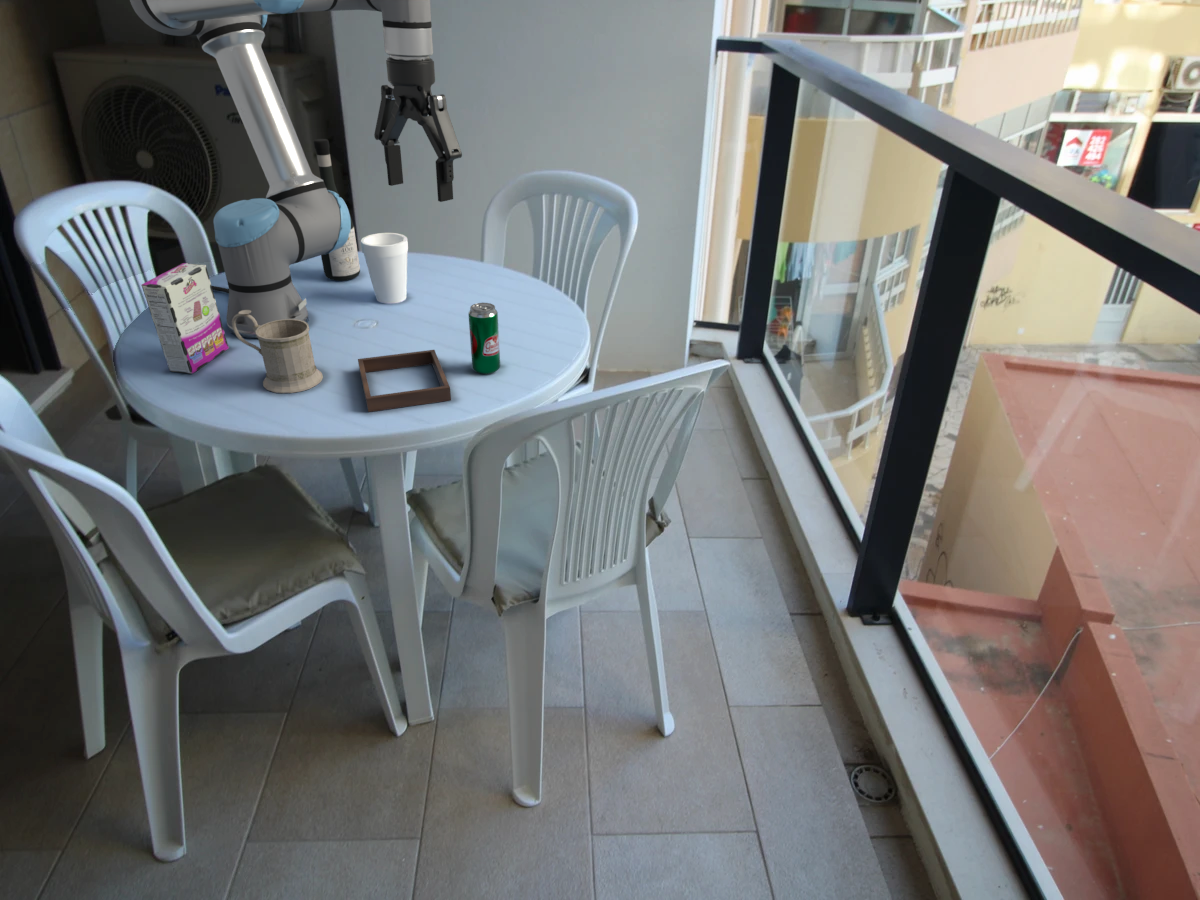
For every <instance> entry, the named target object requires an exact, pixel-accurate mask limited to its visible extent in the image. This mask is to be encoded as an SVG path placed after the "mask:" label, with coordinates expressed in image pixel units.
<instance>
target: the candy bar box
mask: <svg viewBox="0 0 1200 900" xmlns="http://www.w3.org/2000/svg"><path fill="white" fill-rule="evenodd" d="M140 285H141V289H142V291H143V295H144V298H145V301H146V303H147V305H148V306H147V307H148V310H149V312H150V315H151V318H152V321H153V324H154V327H155V330H156V334H157V336H158V340H159V343H160V346H161V349H162V352H163V355H164V358H165V361H166V364H167V368H168V370H169V372H173V373H179V374H181V373H182V374H192V375H193V374H194V373H196V372H197V371H199V370H200V369H201V368H204V366H206V365H207V364H209V363H211V361H213V360H214V359H216V358H218V357H219V356H220V355H221V354H223V353H224V352H226V351H227V350H229V348H230V346H229V344H228V340H227V337H226V333H225V329H224V326H223V321H222V318H221V314H220V311H219V308H218V304H217V301H216V297H215V293H214V290H213V289H212V286H213V285H212V283H211V278H210V274H209V272H208V268H207V265H206V264H199V263H198V264H197V263H189V262H183V263H180V264H178V265H176V266H175V267H173V268H171V269H169V270H167V271H165V272H162V273H161V274H159V275H157V276H155V277H153V278H152V279H149V280H147V281H146V282H143V283H142V284H140Z"/></svg>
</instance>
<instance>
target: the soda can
mask: <svg viewBox="0 0 1200 900" xmlns="http://www.w3.org/2000/svg"><path fill="white" fill-rule="evenodd" d="M498 313H499V312H498V311H497V309H496V306H495V305H494V304H493V303H491V302H477V303H474V304H472V305H470V307H469V311H468V327H469V328H468V329H469V341H470V357H471V367H472V370H473V371H474V372H475V373H477V374H480V375H491V374H494V373H496V372H498V371H499V369H500V368H501V352H500V333H499V332H500V331H499V314H498Z"/></svg>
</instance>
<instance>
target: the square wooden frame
mask: <svg viewBox="0 0 1200 900" xmlns="http://www.w3.org/2000/svg"><path fill="white" fill-rule="evenodd" d="M439 360H440V359H439V357H438V354H437V353H436V350H435V349H428V350H421V351H411V352H404V353H395V354H388V355H387V354H386V355H380V356H379V355H378V356H371V357H363V358H362V357H361V358H357V364H358V369H359V375H360V380H361V384H362V388H363V393H364V394H363V395H364V398H365V402H366V407H367V408H366V409H367V412H368V413H373V412H381V411H385V410H386V411H387V410H393V409H400V408H406V407H414V406H422V405H428V404H435V403H442V402H447V401H448V402H449V401H452V394H451V393H452V392H451V387H450V386H451V385H450V384H449V381H448V379H447V377H446V374H445V371H444V369H443V367H442V364H441V363H440V361H439ZM426 365H427V366H428V365H432V367H433V370H434V373H435V375H436V378H437V380H438V382H439V383H438V384H439V385H440V386H435V387H428V388H420V389H412V390H407V391H399V392H398V391H397V392H392V393H385V394H378V395H371V391H370V387H369V382H368V378H367V373H373V372H383V371H388V370H395V369H396V370H398V369H403V368H412V367H419V366H426Z"/></svg>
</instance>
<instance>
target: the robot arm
mask: <svg viewBox="0 0 1200 900" xmlns="http://www.w3.org/2000/svg"><path fill="white" fill-rule="evenodd" d="M129 3H130V5H131V7H132V9H133V11H134V12H135V14H136V15H137V16H138V18H139V19H141V21H143V22H144V24H146V25H147V26H149V27H150V28H152V29H153V30H156V31H157V32H159V33H162V34H166V35H170V36H176V37H185V36H186V37H188V36H189V37H190V36H196V38H197V39H198V42H199V45H200V46H201V49H202V51H203V52H204V53H207V54H208V55H209V56H212V57H213V58H214V59H215V60H216V63H217V65H218V68H219V70H220V72H221V74H222V77H223V79H224V82H225V85H226V86H227V88H228V91H229V93H230V96H231V98H232V100H233V103H234V105H235V108H236V110H237V112H238V115H239V117H240V119H241V122H242V125H243V126H244V129H245V131H246V133H247V136H248V138H249V141H250V142H251V145H252V148H253V150H254V152H255V155H256V157H257V160H258V162H259V165H260V166H261V169H262V171H263V173H264V176H265V179H266V181H267V183H268V186H269V188H268V191H267V193H266V195H265V198H264V197H257V198H256V197H254V198H250V199H241V200H237V201H234V202H231V203H229V204H226V205H225V206H223V207H221V208H220V209H219V210H217V212H216V213H215V215H214V217H213V228H214V229H213V230H214V239H215V241H216V244H217V247H218V251H219V254H220V258H221V262H222V266H223V270H224V275H225V279H226V283H227V287H228V288H227V287H222V286H216V285H215V286H214V285H211V286H212V289H213V291H215V292H222V293H226V294H228V300H227V308H226V309H227V310H226V324H227V329H228V331H229V332H230V333H231V334H232V335H235V336H236V334H235V332H234V330H233V327H232V319H233V317H234V316H235V315H237V314H239V313H238V312H240V311H243V310H250V311H251V313H249V315H251V316H252V317H254V318H255V320H256V321H257V324H258V325H263V324H266V323H268V322H272V321H276V320H283V319H295V320H301V321H304V322H306V323H307V324H309V321H310V316H309V311H308V308H307V304H308V303H307V302H308V301H307V298H304V299H302V297H301V296H300V294H299V292H298V290H297V288H296V287H295V285H294V283H293V279H292V278H293V277H292V274H291V268H290V266H291V265H294V264H299V263H301V262H305V261H307V260H310V259H314V258H316V257H319V256H320V257H321V255H326V254H328V253H331V252H332V251H334V250H336V249H339V248H341V247H342V246H343V245H344V244H345V243H346V242H347V240H348V238H349V233H350V230H351V220H350V216H351V214H350V210H349V208H348V206H347V204H346V202H345V200H344V199H343V198H342V197H341V196H340V194H339V193H338V194H339V195H338V194H337V193H336V192H333V191H330V190H327V188H326V186H325V183H324V181H323V180H322V179H321V177H319V176H317V175H315V174H314V173H313V171H312V169H311V167H310V164H309V162H308V159H307V157H306V155H305V151H304V149H303V147H302V145H301V142H300V140H299V137H298V135H297V132H296V129H295V127H294V125H293V122H292V120H291V116H290V114H289V112H288V109H287V107H286V104H285V102H284V100H283V98H282V95H281V92H280V90H279V87H278V85H277V82H276V81H275V78H274V75H273V73H272V71H271V68H270V66H269V63H268V61H267V58H266V56H265V53H264V50H263V48H262V44H263V42H264V39H265V37H266V34H265V31H264V28H265V26H266V24H267V22H268V15H277V14H278V15H284V14H295V13H309V12H333V11H335V12H336V11H370V12H371V11H372V12H379V13H381V17H382V19H381V20H382V31H383V45H384V46H383V47H384V53H385V54H386V55H388V57H387V58H386V60H385V63H386V74H387V81H388V83H389V84H383V85H381V86H380V92H381V93H380V96H381V99H380V104H379V108H378V114H377V119H376V124H375V128H374V129H375V130H374V134H373V136H374V139H375V140H376V141H380V144H381V145H382V146H383V153H384V161H385V164H386V172H387V173H386V174H387V182H388V186H389V187H392V186H396V185H403V184H404V174H403V173H404V172H403V161H402V151H401V145H399V144H400V143H401V141H399V139H400V137H401V134H402V132H403V130H404V128H405V126H406V124H407V122H408V120H409V119H410V120H411V121H415V122H416V123H417V124H418V125H419V126H421V127H422V129H423V130H424V133H425V135H426V137H427V139H428V140H429V143H430V145H431V147H432V149H433V150H434V153H435V154H436V156H437V158H436V160H435V175H436V176H435V177H436V188H437V190H436V191H437V202H440V203H442V202H448V201H452V200H454V188H453V187H454V186H453V181H454V179H455V177H454V161H455V160H457V159H461V158H462V157H463V153H462V150H461V147H460V144H459V141H458V138H457V135H456V132H455V129H454V126H453V123H452V120H451V117H450V114H449V111H448V106H447V98H446V95H445V94H444V93H440V94H433V92H432V85H434V84H435V83H436V71H435V60H433V58H430V57H431V56H433V54H434V42H433V25H432V15H431V14H432V12H431V10H432V9H431V0H129ZM339 196H340V197H339ZM235 323H236V328H237V330H238V332H239V334H240V336H241V337H242V338H247V339H258V338H257V337H256V332H254V330H253V326H254V323H253V322H252V320H251V319H249V318H248V317H245V316H241V317H238V318H237V319H236V322H235Z"/></svg>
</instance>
